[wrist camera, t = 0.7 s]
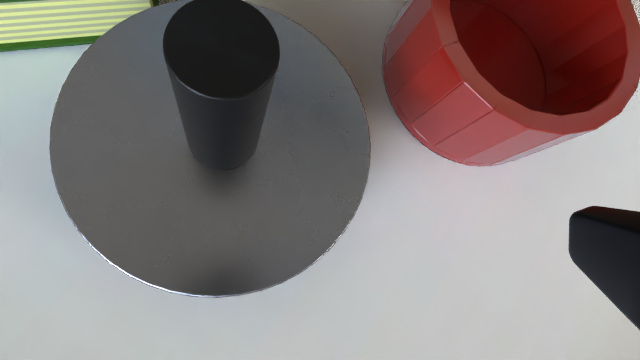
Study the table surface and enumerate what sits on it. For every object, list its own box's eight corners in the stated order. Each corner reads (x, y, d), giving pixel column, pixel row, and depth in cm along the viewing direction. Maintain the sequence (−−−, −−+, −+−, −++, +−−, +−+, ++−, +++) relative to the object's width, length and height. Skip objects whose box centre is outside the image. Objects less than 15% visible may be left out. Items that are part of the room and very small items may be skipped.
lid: (415, 201, 19) (541, 154, 12) (150, 362, 16) (79, 450, 8) (279, -29, 20) (313, -211, 13) (-1, 73, 16) (-194, -98, 9)
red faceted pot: (581, 116, 26) (682, 73, 20) (448, 201, 23) (523, 177, 17) (488, -31, 27) (559, -112, 21) (346, 31, 24) (385, -46, 18)
